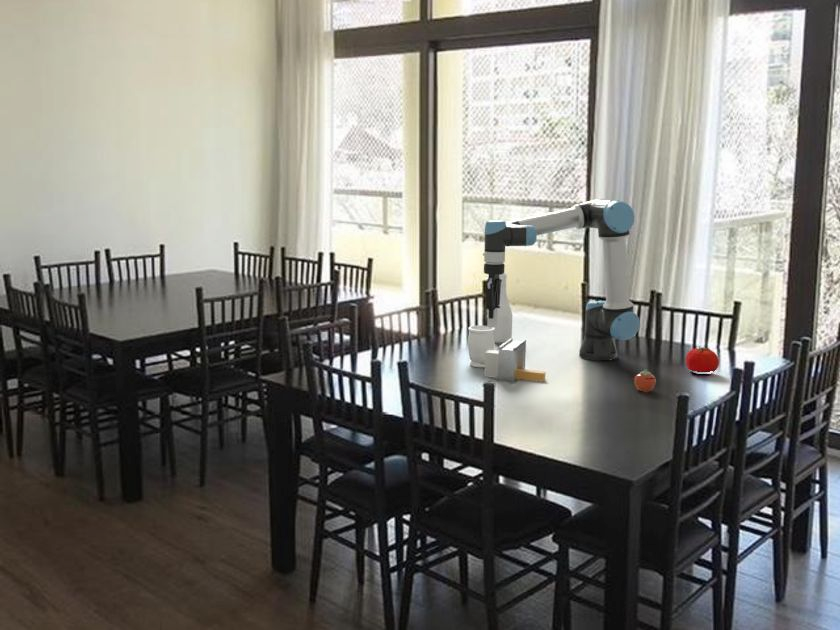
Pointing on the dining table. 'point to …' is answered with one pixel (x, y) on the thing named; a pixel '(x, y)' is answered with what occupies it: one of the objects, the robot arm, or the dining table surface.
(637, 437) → the dining table surface
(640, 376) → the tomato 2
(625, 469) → the dining table surface
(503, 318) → the wine bottle
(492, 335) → the jar
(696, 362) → the tomato
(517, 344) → the box
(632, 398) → the dining table surface
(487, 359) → the plug
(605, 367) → the dining table surface
